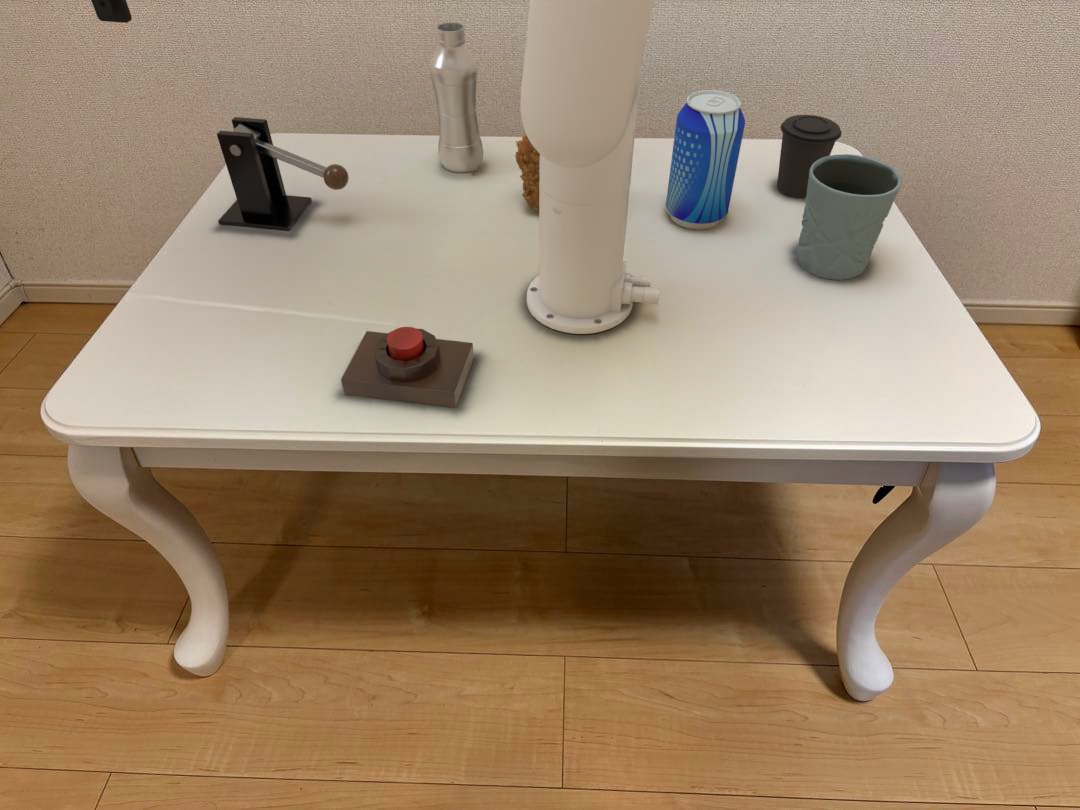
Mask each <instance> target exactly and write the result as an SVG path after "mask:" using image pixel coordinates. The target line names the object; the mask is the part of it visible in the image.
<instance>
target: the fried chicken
mask: <svg viewBox="0 0 1080 810" xmlns="http://www.w3.org/2000/svg"><path fill="white" fill-rule="evenodd" d="M515 144H516V148H517V151H515V155H514V157H515V162H516V164H517V166H518V168H519V170H520V171H521V174H520V175H519V178H520V179H521V181H523V182H522V185H523V186H522V188H523V189H522V190H523V192H522V194H521V196H523V197H522V198H523V199H524V201H525V202H526V203H527V204H528V206H529V207H530V208H531V209H534V210H535V211H536V212H537V213H539V181H540V173H539V162H540V153H539V152H538V151H537V150H536V149H535V148H534V147H533V145H532V144H531V142H530V141H529V139H528V137H527V135H526V133H525V134H524V135H522V138H521V140H520V139H519V140H515Z"/></svg>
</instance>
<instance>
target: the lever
mask: <svg viewBox="0 0 1080 810" xmlns="http://www.w3.org/2000/svg"><path fill="white" fill-rule="evenodd" d="M231 132H243V133H253V135H254V139H255V143H256V146H257V150H258V151H259V152H262V153H264V154H267V155H269V156H271V157H274V158H276V159H277V160H279V161H281V162H284V163H286V164H289V165H291V166H294V167H296V168H298V169H301V170H303V171H306V172H308V173H311V174H313V175H316V176H318V177H320V178H322V179H323V182H324V183H325V185H326V186H327V187H328V188H330V189H331V190H334V191H339V190H343V189H344V188H345V187H346V186H347V185H348V183H349V179H350V178H349V177H350V176H349V173H348V171H347V169H346V168H345V167H344V166H343V165H340V164H337V163H332V164H330V165H328V166H324V165H322V164H320V163H317V162H314V161H312V160H310V159H307V158H305V157H303V156H300V155H297V154H295V153H293V152H290V151H287V150H285V149H283V148H281V147H278V146H275V145H274V144H273V145H271V144H268V143H266V142H263V141H261V140H260V135H261V133H260V132H258V131H255V130H253V129H251V128H248V127H246V126H243V125H241V124H239V125H238V126H237V127H236V128H235V129H234V128H233V130H231Z"/></svg>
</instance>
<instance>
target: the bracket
mask: <svg viewBox="0 0 1080 810" xmlns="http://www.w3.org/2000/svg"><path fill="white" fill-rule="evenodd" d="M231 124H232V127H233V130H234V129H235V128H236V127H237V126H238V125H239V124H241V125H243V126H246V127H248V128H251V129H253V130H255V131H258V132H260V133H261V135H260V140H261V141H263V142H266V143H268V144H271V145H273V146H274V143H273V139H272V135H271V130H270V127H269V123H268V120H267V119H265V118H252V117H242V116H241V117H239V116H234V117H233V118H232V119H231ZM216 137H217V140H218V143H219V146H220V150H221V153H222V156H223V159H224V162H225V165H226V168H227V172H228V176H229V178H230V181H231V185H232V189H233V191H234V195H235V198H236V200H235V201H234V203H233V204H232V205H231V206H229V208H228V209H227V210H226V211H225V212H224V213H223V214H222V215H221V217H220V218H219V219H218V220H217V222H218V225H220V226H221V225H222V226H229V227H238V228H239V227H240V228H251V229H262V230H271V231H283V232H290V231H292V229H293V227H294V226H295V224H296V223H297V221H298V220H299V219H300V218H301V217H302V215H303V214H304V213H305V211H306V210H307V209H308V207H309V206H310V205H311V203H312V202H313V199H312V197H311V196H299V195H289V194H287V192H286V189H285V185H284V180H283V176H282V173H281V170H280V166H279V161H278V159H276V158H274V157H271V156H269V155H267V154H264V153H262V152H259V151H258V150H257V146H256V143H255V139H254V135H253V133H243V132H232V130H231V131H228V130H219V131H218V132H217V133H216Z"/></svg>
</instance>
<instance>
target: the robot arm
mask: <svg viewBox="0 0 1080 810" xmlns="http://www.w3.org/2000/svg"><path fill="white" fill-rule="evenodd" d="M90 1H91V3H92V4H91V5H92V6H93V9H94V12H95V14H96V17H97V19H98V20H100V21H101V22H109V23H122V24H123V23H125V24H128V23H129V22H132V19H133V17H132V14H131V10H130V8H129V6H128V2H127V0H90ZM654 4H655V0H529V5H528V16H527V17H528V18H527V26H526V27H527V28H526V36H525V37H526V38H525V49H524V57H523V67H522V77H521V88H520V97H519V98H520V101H519V102H520V103H519V105H520V106H519V108H520V109H519V110H520V118H521V124H522V127H523V129H524V132H525V134H526V135H527V137H528V139H529V141H530V142H531V144H532V145H533V147H534V148H535V149H536V150H537V151H538V152H539V153H540V162H539V173H540V181H539V212H538V214H539V217H538V219H539V224H538V226H539V228H538V229H539V233H538V234H539V235H538V236H539V237H538V239H539V275H537V276H535V278H534V279H532V281H531V282H530V284H529V285H528V287H527V291H526V304H527V305H526V306H527V309H528V311H529V312H530V314H531V316H533V317H534V319H535V320H536V321H538V322H539V323H541V324H542V325H544V326H546V327H548V328H549V329H551V330H555V331H559V332H561V333H566V334H572V335H574V334H575V335H588V334H596V333H601V332H605V331H607V330H610V329H613V328H614V327H616V326H619V325H620V324H622V322H624V321H625V320H626V319H627V318H628V317H629V315H630V314H631V311H632V309H633V305H634V304H633V303H642V304H645V305H646V304H647V305H656V306H659V301H660V293H661V288H660V287H654V286H651V280H652V277H651V276H645V275H640V276H639V275H632V273H631V272H627V265H628V261H627V260H624V257H625V255H624V254H625V245H626V233H627V232H626V231H627V223H628V210H629V201H630V199H629V198H630V189H631V188H630V187H631V183H632V181H631V180H632V170H633V158H634V148H635V137H636V130H637V128H636V127H637V120H638V113H639V112H638V111H639V103H640V95H641V89H642V88H641V87H642V75H643V74H642V71H643V69H642V66H643V65H642V61H643V60H642V59H643V56H644V50H645V46H646V42H647V36H648V32H649V27H650V23H651V19H652V18H651V17H652V13H653V8H654Z"/></svg>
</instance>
